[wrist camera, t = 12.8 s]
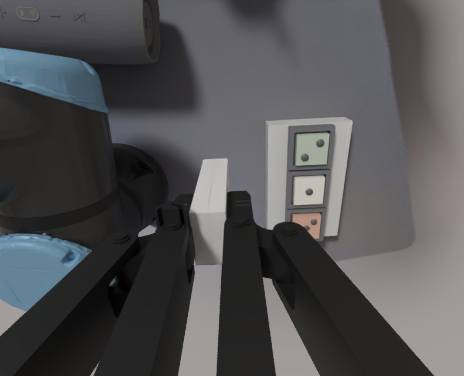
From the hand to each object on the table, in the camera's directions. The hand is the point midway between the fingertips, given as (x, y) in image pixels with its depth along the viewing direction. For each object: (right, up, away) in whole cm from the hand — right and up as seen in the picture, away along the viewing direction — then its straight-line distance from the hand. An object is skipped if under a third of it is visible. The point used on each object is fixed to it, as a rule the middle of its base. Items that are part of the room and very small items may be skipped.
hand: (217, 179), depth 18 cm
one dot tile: (+13, 0, +26) cm, 29 cm away
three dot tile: (+13, -6, +29) cm, 32 cm away
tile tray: (+13, +1, +29) cm, 31 cm away
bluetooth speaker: (-20, +21, +19) cm, 35 cm away
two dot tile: (+12, +6, +23) cm, 27 cm away
